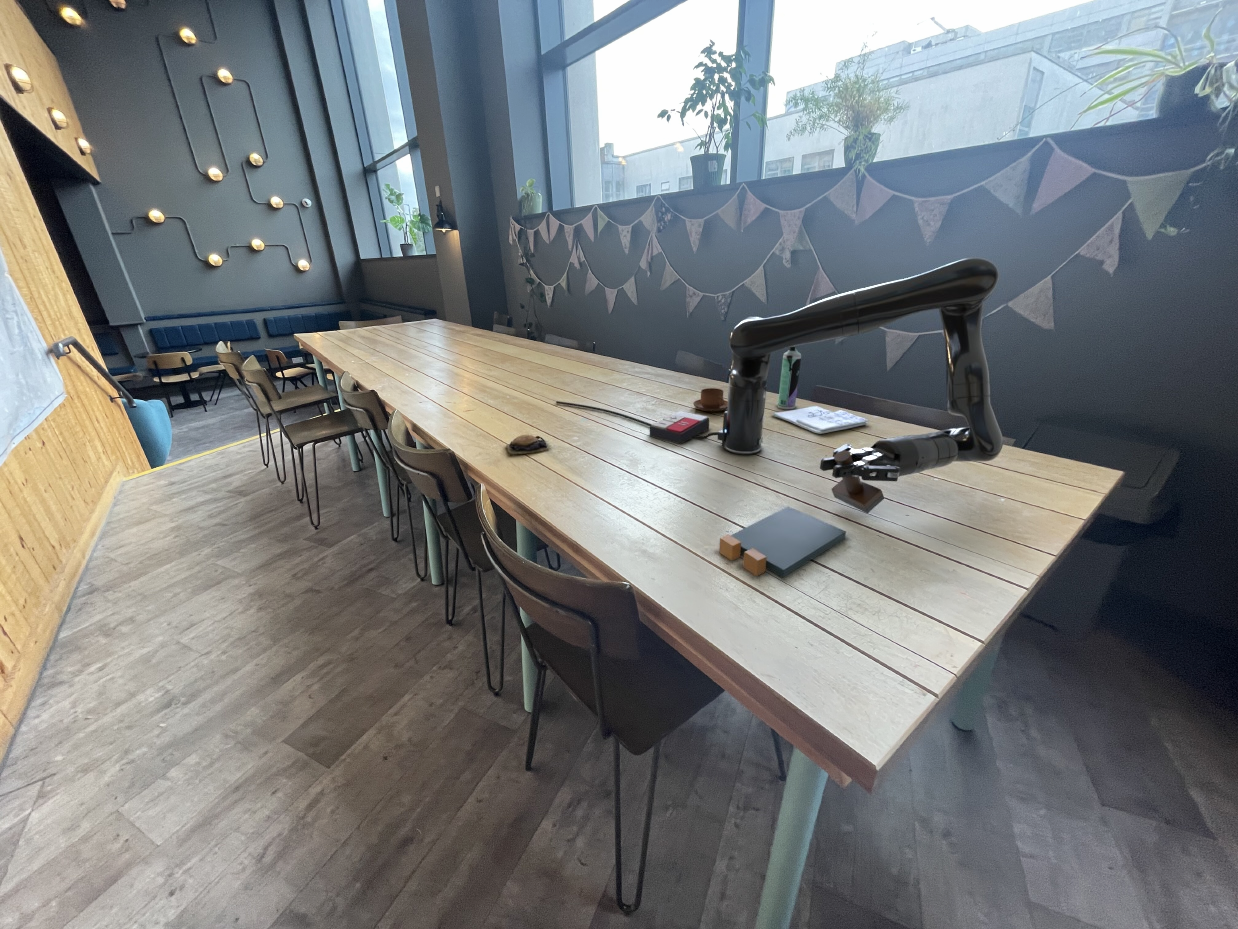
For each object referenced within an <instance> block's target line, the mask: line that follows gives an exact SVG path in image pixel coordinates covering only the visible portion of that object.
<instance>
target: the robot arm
mask: <svg viewBox="0 0 1238 929" xmlns="http://www.w3.org/2000/svg"><path fill="white" fill-rule="evenodd" d="M999 278H1000V272H999V269H998V267H997V266H996V264H995V263H993V262H992V261H990V260H989V259H986V258H982V257H968V258H962V259H960V260H957V261H954V262H951V263H948V264H945V265H942V266H940V267H938V268H935V269H932V270H929V271H926V272H923V273H921V274H918V275H917V274H916V275H914V276H911V277H908V278H907V277H906V278H904V279H903V278H902V279H898V280H893V281H889V282H885V283H881V284H876V285H872V286H868V287H865V288H864V287H863V288H859V289H855V290H852V291H851V290H850V291H848V292H844V293H840V294H837V295H833V296H830V297H826V298H823V299H822V300H818V301H816V302H813V303H811V304H809V305H806V306H804V307H802V308H800V309H797V310H795V311H792V312H789V313H785V314H781V315H776V316H771V317H766V318H765V317H764V318H762V317H760V316H754V315H753V316H749V317H745V318H744V319H742V320H741V321H740V322H738V323H737V324H736V325H735V326H734V327H733V328H732V330H731V332H730V335H729V340H728V345H729V348H730V350H731V352H732V355H731V356H732V359H731V366H730V371H729V375H728V390H727V401H728V404H727V409H726V411H724V412H723V418H722V429H720V430H718V431H712V432H708V433H707V434H704V435H695V436H693V437H692V438H691V439H694V440H705V439H707V438H709V437H711V436H717V440H718V441H721V447H723V448H724V449H725V450H726V451H727V452H729V453H732V454H737V455H743V456H744V455H747V456H748V455H754V454H757V453H760V452H761V450H762V443H763V440H764V437H763V429H764V428H763V427H764V419H765V418H764V417H765V406H766V396H767V385H768V378H769V373H770V365H771V364H770V363H771V355H772V354H773V353H776V352H779V351H781V350H782V351H783V350H785V349H788V348H790V347H792V346H796V347H797V346H802V345H809V344H815V343H821V342H827V341H833V340H838V339H843V338H847V337H851V336H857V335H861V334H864V333H868V332H870V331H874V330H876V329H879V328H881V327H884V326H886V325H889V324H891V323H894V322H896V321H898V320H901V319H903V318H906V317H908V316H912V315H915V314H919V313H923V312H927V311H933V310H938V312H939V316H940V321H941V325H942V330H943V339H944V347H945V348H944V349H945V387H946V388H945V389H946V390H945V392H946V409H947V412H948V414H950V415H951V416H959V417H963V418H964V419H965V421H966V422H967V425H968V426H963V427H952V428H945V429H942V430H939V431H936V432H929V433H922V434H908V435H901V436H895V437H889V438H882V439H880V440H877V441H875V443H873V444H872V445H871V447H862V448H859V449H855V448H852V444H850V443H845V444H843V445H841V446H840V447H837V448H836V449H834V450H833V452H832V457H825V458H822V459H821V460H820V464H819V469H820V471H822V472H824V471H832V473H831V476H832V478H835V479H839V478H842V477H846V476H853V477H859V478H860V477H861V481H867V482H869V481H870V482H871V481H872V482H898V479H899V477H903V476H909V475H914V474H918V473H922V472H925V471H928V470H933V469H940V468H943V467H947V466H949V465H950V464H951V465H952V463H957V462H963V463H964V462H966V463H967V462H969V463H970V462H973V463H974V462H976V463H977V462H978V463H979V462H981V463H982V462H990V461H993V460H995V459H997V457H998V456H999V455H1000V453H1001V452H1002V449H1003V445H1004V437H1003V433H1002V430H1001V428H1000V425H999V422H998V420H997V418H996V415H995V412H994V409H993V407H992V404H991V386H990V385H991V384H990V382H991V380H990V371H989V369H990V368H989V364H988V360H987V356H986V352H985V348H984V343H983V337H982V336H983V335H982V319H983V313H984V312H983V311H984V304H985V301H986V300H987V299H988V298H989V297H990V296H991V295H992V293H993V292H994V291H995V289H996V287H997V285H998V282H999ZM555 403H556V404H557V405H566V406H571V407H578V408H584V409H589V410H594V411H601V412H604V413H608V414H613V415H615V416H619V417H621V418H622V417H623V418H625V419H629V420H631V421H633V422H637V423H640V424H642V425H645V426H647V427H650V426H651V425H652V424H653V423H650V422H648V421H644V420H641V419H638V418H636V417H633V416H630V415H627V414H624V413H620V412H617V411H613V410H609V409H605V408H602V407H596V406H592V405H586V404H579V403H573V402H568V401H567V402H566V401H558V400H556V401H555ZM840 451H848V452H850V454H851V457H852V460H853V462H854V465H853V464H851V463H849V464H843V465H837V464H836V462H835V459H834V456H835V454H836V453H838V452H840Z"/></svg>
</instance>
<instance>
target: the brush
mask: <svg viewBox="0 0 1238 929" xmlns="http://www.w3.org/2000/svg"><path fill="white" fill-rule="evenodd" d="M834 459H835V462H836V464H837V465H843V464H849V463H851V464H853V465H854V462H853V460H852V457H851V454H850V452H848V451H840V452H838V453H836V454H835V456H834ZM830 490H831V493H832V495H833V497H834V499H836V500H838V501H841V502H843V503H845V504H847V505H849V506H851V507H853V508H855V509H857V510H859V511H861V512H863V513H865V514H867V515H868V514H869V513H870V512H871V511H872V510H874V508H876V507H877V506H878V505H879V504H880V503H881V502H883V501H884V500H885V496H884V493H883V491H882V489H881V488H878V487H876V486H874V485H871V484H869V483H867V482H864V481H863V480H861V478H860V476H859V477H853V476H846V477H841V479H840V481H839V482H837V483H836V484H835V485H834V486H832V487H831V489H830Z"/></svg>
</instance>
